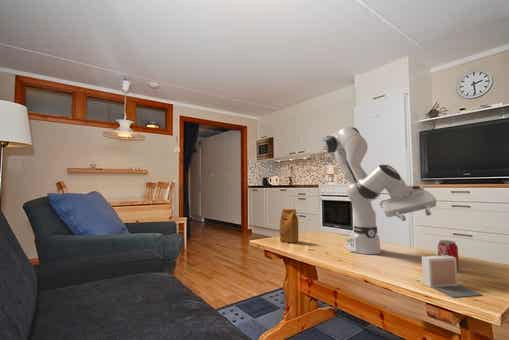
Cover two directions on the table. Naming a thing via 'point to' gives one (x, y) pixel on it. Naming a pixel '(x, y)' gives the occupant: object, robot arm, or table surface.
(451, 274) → the tile
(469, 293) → the mat
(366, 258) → the table surface
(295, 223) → the coffee package
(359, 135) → the robot arm
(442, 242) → the soda can
